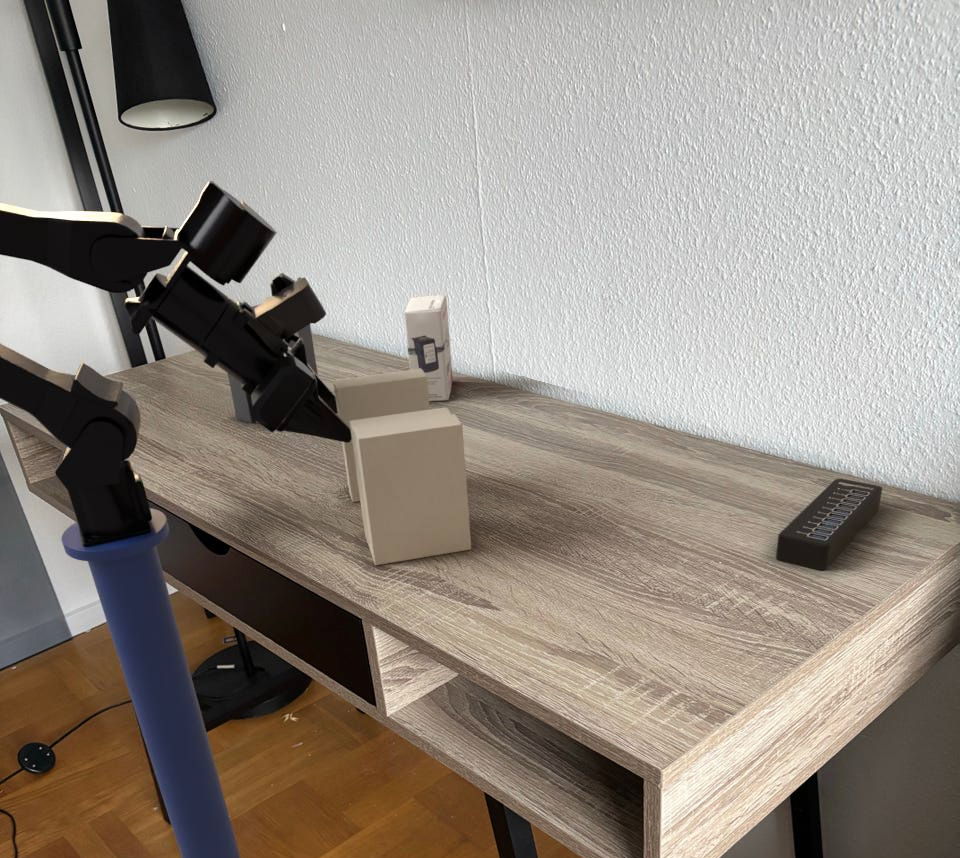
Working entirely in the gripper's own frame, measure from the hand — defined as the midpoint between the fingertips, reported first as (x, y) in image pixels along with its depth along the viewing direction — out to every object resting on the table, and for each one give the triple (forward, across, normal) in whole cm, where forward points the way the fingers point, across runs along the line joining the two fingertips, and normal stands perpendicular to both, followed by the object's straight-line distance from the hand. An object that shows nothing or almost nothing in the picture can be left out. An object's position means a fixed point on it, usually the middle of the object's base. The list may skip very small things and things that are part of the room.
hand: (345, 423), depth 95 cm
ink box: (+16, +31, -5) cm, 36 cm away
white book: (+8, 0, +3) cm, 9 cm away
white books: (+8, -13, +3) cm, 16 cm away
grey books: (+2, +32, +10) cm, 33 cm away
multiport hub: (+34, -25, -23) cm, 48 cm away
